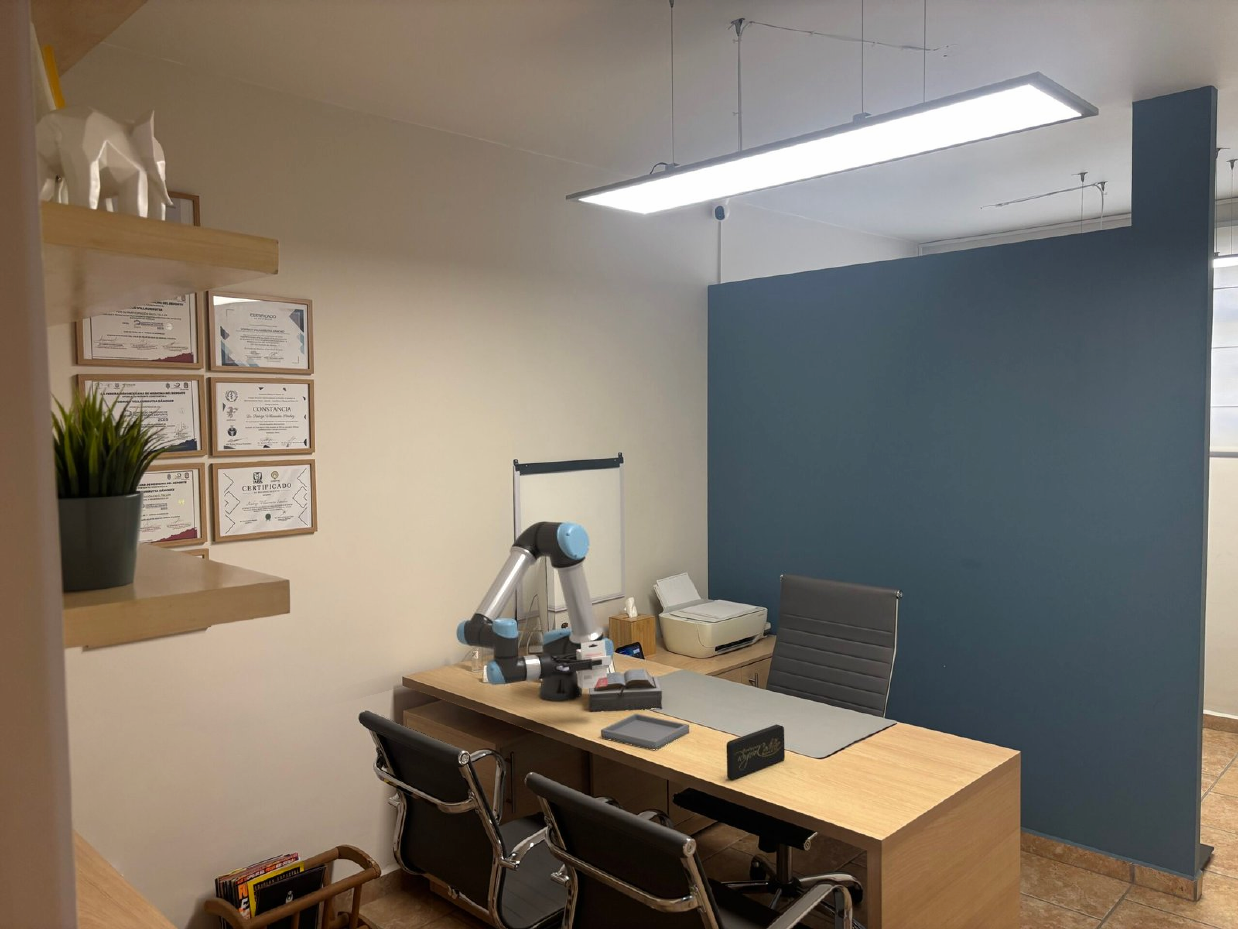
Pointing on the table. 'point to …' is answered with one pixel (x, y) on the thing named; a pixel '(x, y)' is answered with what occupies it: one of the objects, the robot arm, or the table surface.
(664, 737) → the desk tray
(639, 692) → the bible
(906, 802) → the table surface
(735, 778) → the nameplate
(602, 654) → the ink cartridge box
